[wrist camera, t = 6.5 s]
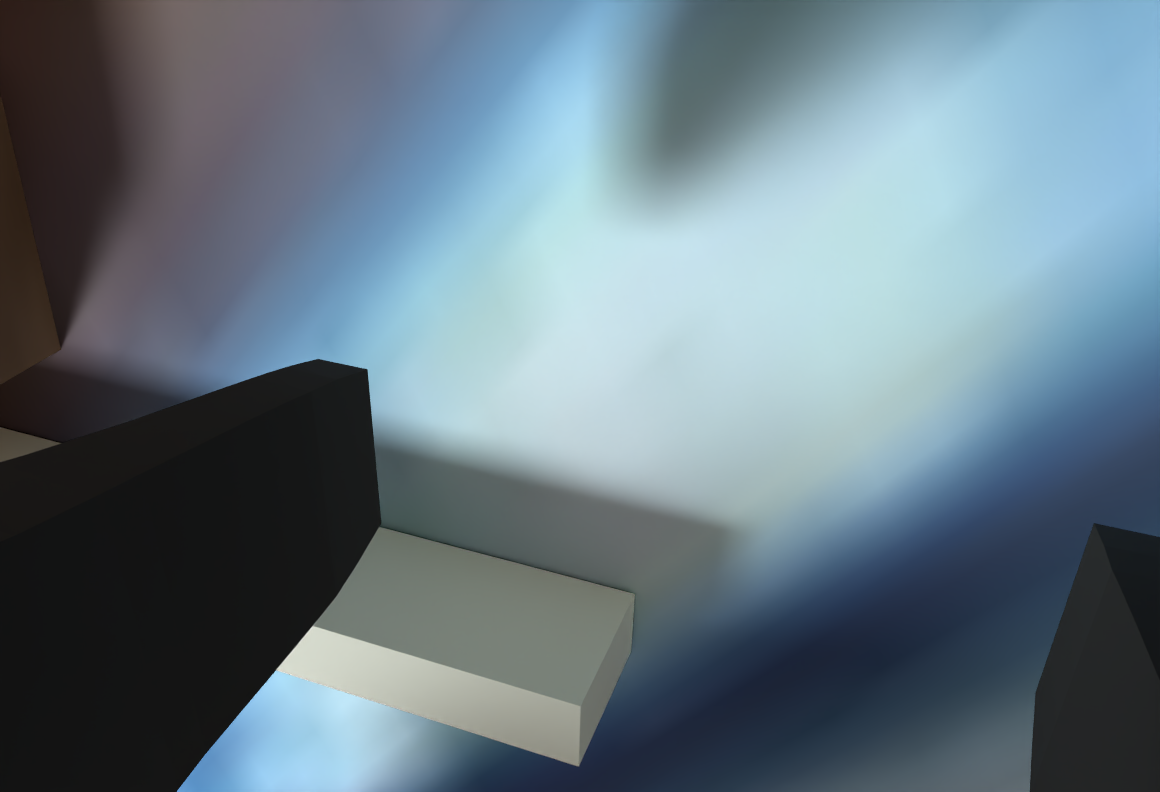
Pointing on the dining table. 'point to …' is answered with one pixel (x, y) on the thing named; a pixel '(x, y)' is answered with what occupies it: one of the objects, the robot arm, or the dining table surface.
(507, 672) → the cream u-shaped frame
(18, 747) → the robot arm
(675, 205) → the dining table surface
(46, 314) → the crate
